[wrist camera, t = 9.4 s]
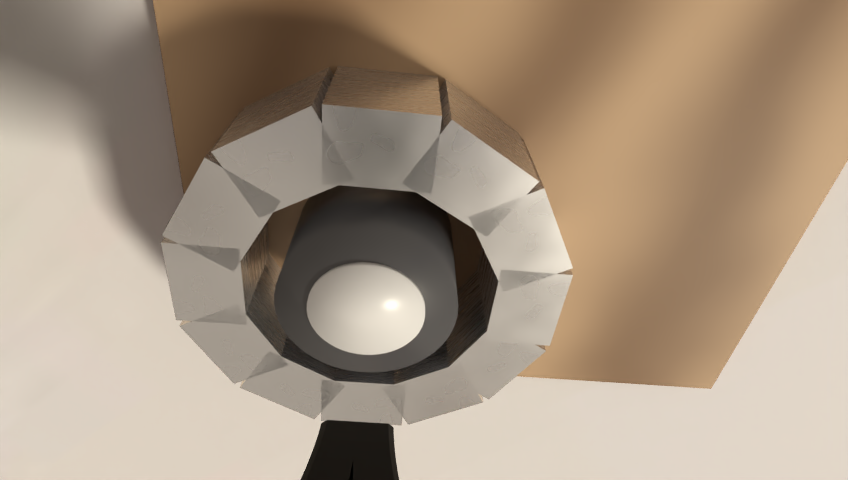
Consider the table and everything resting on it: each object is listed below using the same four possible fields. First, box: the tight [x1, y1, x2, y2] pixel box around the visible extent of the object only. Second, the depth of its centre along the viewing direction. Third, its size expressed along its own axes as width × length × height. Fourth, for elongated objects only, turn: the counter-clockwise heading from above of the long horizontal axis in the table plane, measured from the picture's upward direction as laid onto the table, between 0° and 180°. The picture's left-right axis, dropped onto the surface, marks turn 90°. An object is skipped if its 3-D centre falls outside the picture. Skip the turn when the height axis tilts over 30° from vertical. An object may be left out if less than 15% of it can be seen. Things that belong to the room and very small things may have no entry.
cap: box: [274, 185, 458, 372], centre depth 16 cm, size 5×5×4 cm
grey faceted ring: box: [161, 66, 573, 425], centre depth 16 cm, size 11×11×3 cm
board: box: [153, 0, 848, 389], centre depth 16 cm, size 20×20×1 cm
